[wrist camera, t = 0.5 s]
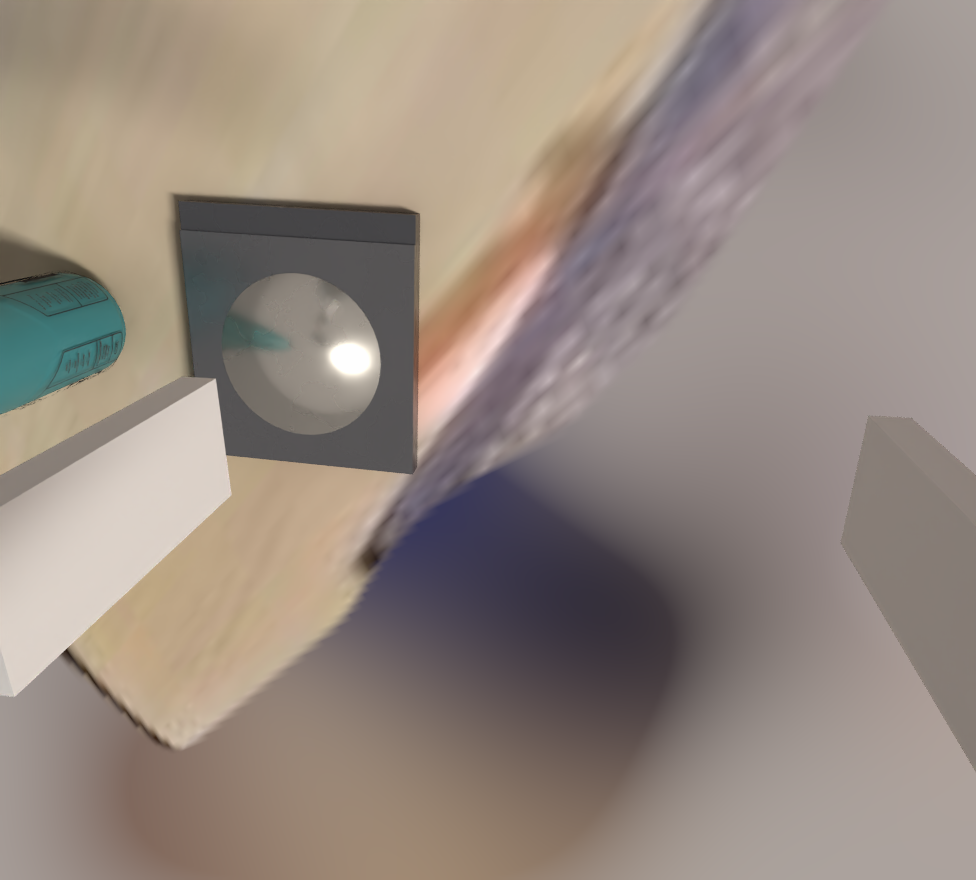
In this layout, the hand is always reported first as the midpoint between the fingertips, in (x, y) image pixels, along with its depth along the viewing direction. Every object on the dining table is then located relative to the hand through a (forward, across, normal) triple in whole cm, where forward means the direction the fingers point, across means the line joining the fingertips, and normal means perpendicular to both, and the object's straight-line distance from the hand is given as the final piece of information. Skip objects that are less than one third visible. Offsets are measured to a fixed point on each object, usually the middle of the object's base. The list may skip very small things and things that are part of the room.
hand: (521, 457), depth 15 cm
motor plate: (+28, -16, -6) cm, 33 cm away
